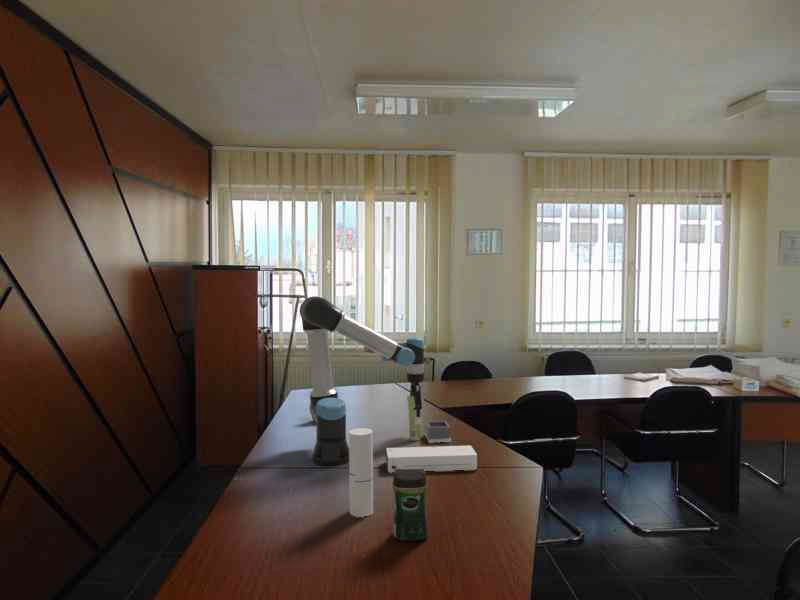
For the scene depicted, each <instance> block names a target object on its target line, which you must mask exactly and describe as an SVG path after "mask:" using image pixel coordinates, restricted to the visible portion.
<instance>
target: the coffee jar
mask: <svg viewBox="0 0 800 600" xmlns="http://www.w3.org/2000/svg"><path fill="white" fill-rule="evenodd" d="M392 488H393V492H394V497H395V499H394V501H395V502H394V516H393V529H392V530H393V536H394V538H395V539H396V540H398V541H400V540H401V542H419V540H420V541H423V540H425V539H426V538H427V537H428V534H429V533H428V532H429V528H428V518H427V511H426V509H427V508H426V491H427V488H428V480H427V475H426V472H425V471H424V469H396V470H395V473H393V479H392Z"/></svg>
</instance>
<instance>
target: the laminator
mask: <svg viewBox="0 0 800 600" xmlns="http://www.w3.org/2000/svg"><path fill="white" fill-rule="evenodd" d="M478 457H479V454H478V453H477V451H476V450H475V449H474V447H473V446H472V445H443V446H441V445H440V446H439V445H438V446H414V447H412V446H410V447H409V446H406V447H385V462H386V468H387V469H386V470H387V473H389V474H393V473H392V472H395V470H396V469H424V471H435V472H455V471H454V470H464V471H477V470H478V467H479V466H478V464H479V463H478V462H479V461H478V460H479V458H478Z"/></svg>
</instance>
